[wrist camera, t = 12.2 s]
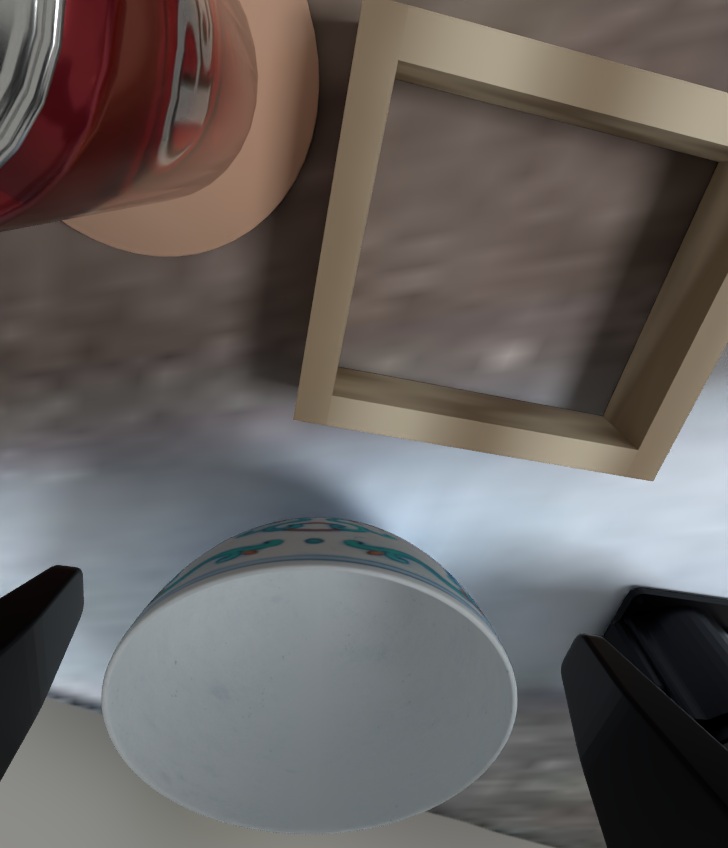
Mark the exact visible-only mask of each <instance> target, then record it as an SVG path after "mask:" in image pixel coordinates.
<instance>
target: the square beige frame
mask: <svg viewBox="0 0 728 848" xmlns="http://www.w3.org/2000/svg"><path fill="white" fill-rule="evenodd" d="M394 79H398V80H401V81H405V82H409V83H413V84H417V85H421V86H425V87H429V88H433V89H437V90H440V91H444V92H448V93H452V94H456V95H460V96H464V97H468V98H472V99H475V100H479V101H483V102H487V103H491V104H495V105H499V106H503V107H507V108H511V109H514V110H518V111H522V112H526V113H530V114H534V115H538V116H542V117H546V118H549V119H553V120H557V121H561V122H565V123H569V124H573V125H577V126H581V127H585V128H588V129H592V130H596V131H600V132H604V133H608V134H612V135H616V136H620V137H623V138H627V139H631V140H635V141H639V142H643V143H647V144H651V145H655V146H659V147H662V148H666V149H670V150H674V151H678V152H682V153H686V154H690V155H694V156H697V157H701V158H705V159H709V160H713V161H717V162H719V163H718V165H717V167H716V169H715V171H714V174H713V176H712V178H711V180H710V182H709V185H708V187H707V189H706V191H705V193H704V195H703V198H702V200H701V202H700V204H699V206H698V209H697V211H696V213H695V215H694V217H693V220H692V222H691V224H690V226H689V228H688V231H687V233H686V235H685V237H684V239H683V242H682V244H681V246H680V248H679V250H678V253H677V255H676V257H675V259H674V261H673V264H672V266H671V268H670V270H669V272H668V274H667V277H666V279H665V281H664V283H663V285H662V288H661V290H660V292H659V294H658V296H657V299H656V301H655V303H654V305H653V307H652V310H651V312H650V314H649V316H648V318H647V321H646V323H645V325H644V327H643V329H642V332H641V334H640V336H639V338H638V340H637V343H636V345H635V347H634V349H633V351H632V354H631V356H630V358H629V360H628V362H627V364H626V367H625V369H624V371H623V373H622V375H621V378H620V380H619V382H618V384H617V386H616V389H615V391H614V393H613V395H612V397H611V400H610V402H609V404H608V406H607V408H606V411H605V413H604V415H603V416H600V415H594V414H589V413H583V412H578V411H573V410H567V409H562V408H556V407H551V406H546V405H540V404H535V403H529V402H524V401H519V400H513V399H508V398H503V397H497V396H492V395H486V394H481V393H476V392H470V391H465V390H459V389H454V388H449V387H443V386H438V385H432V384H427V383H422V382H416V381H411V380H405V379H400V378H395V377H389V376H384V375H378V374H373V373H368V372H362V371H357V370H352V369H346V368H341V367H338V363H339V358H340V353H341V348H342V343H343V338H344V333H345V328H346V322H347V317H348V312H349V307H350V302H351V297H352V292H353V287H354V282H355V277H356V272H357V267H358V262H359V257H360V251H361V246H362V241H363V236H364V231H365V226H366V221H367V216H368V211H369V206H370V201H371V196H372V191H373V186H374V181H375V175H376V170H377V165H378V160H379V155H380V150H381V145H382V140H383V135H384V130H385V125H386V120H387V115H388V110H389V104H390V99H391V94H392V89H393V84H394ZM727 342H728V93H726V92H723V91H719V90H715V89H712V88H708V87H704V86H701V85H697V84H693V83H690V82H686V81H683V80H679V79H675V78H672V77H668V76H664V75H661V74H657V73H653V72H650V71H646V70H643V69H639V68H635V67H632V66H628V65H624V64H621V63H617V62H614V61H610V60H606V59H603V58H599V57H595V56H592V55H588V54H584V53H581V52H577V51H574V50H570V49H566V48H563V47H559V46H555V45H552V44H548V43H544V42H541V41H537V40H534V39H530V38H526V37H523V36H519V35H515V34H512V33H508V32H505V31H501V30H497V29H494V28H490V27H486V26H483V25H479V24H475V23H472V22H468V21H465V20H461V19H457V18H454V17H450V16H446V15H443V14H439V13H435V12H432V11H428V10H425V9H421V8H417V7H414V6H410V5H406V4H403V3H399V2H396V1H392V0H363V1H362V7H361V13H360V19H359V25H358V31H357V37H356V43H355V49H354V55H353V61H352V67H351V73H350V79H349V85H348V91H347V97H346V103H345V110H344V116H343V122H342V128H341V134H340V140H339V146H338V152H337V158H336V164H335V170H334V176H333V182H332V188H331V194H330V200H329V206H328V212H327V219H326V225H325V231H324V237H323V243H322V249H321V255H320V261H319V267H318V273H317V279H316V285H315V291H314V297H313V303H312V309H311V315H310V322H309V328H308V334H307V340H306V346H305V352H304V358H303V364H302V370H301V376H300V382H299V388H298V394H297V400H296V406H295V412H294V418H293V420H298V421H303V422H309V423H315V424H321V425H327V426H333V427H338V428H344V429H350V430H356V431H362V432H368V433H373V434H379V435H385V436H391V437H397V438H403V439H408V440H414V441H420V442H426V443H432V444H438V445H444V446H449V447H455V448H461V449H467V450H473V451H479V452H484V453H490V454H496V455H502V456H508V457H514V458H519V459H525V460H531V461H537V462H543V463H549V464H554V465H560V466H566V467H572V468H578V469H584V470H590V471H595V472H601V473H607V474H613V475H619V476H625V477H630V478H636V479H642V480H648V481H653V480H654V479H655V477H656V475H657V473H658V471H659V469H660V467H661V466H662V464H663V462H664V460H665V458H666V456H667V454H668V452H669V451H670V449H671V447H672V445H673V443H674V441H675V439H676V438H677V436H678V434H679V432H680V430H681V428H682V426H683V424H684V423H685V421H686V419H687V417H688V415H689V413H690V411H691V409H692V408H693V406H694V404H695V402H696V400H697V398H698V396H699V395H700V393H701V391H702V389H703V387H704V385H705V383H706V381H707V380H708V378H709V376H710V374H711V372H712V370H713V368H714V367H715V365H716V363H717V361H718V359H719V357H720V355H721V353H722V352H723V350H724V348H725V346H726V344H727Z"/></svg>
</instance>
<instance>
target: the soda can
mask: <svg viewBox="0 0 728 848" xmlns="http://www.w3.org/2000/svg"><path fill="white" fill-rule="evenodd" d="M257 85H258V71H257V62H256V53H255V46H254V42H253V38H252V35H251V31H250V27H249V24H248V20H247V17H246V14H245V12H244V10H243V8H242V6H241V3H240V1H239V0H0V232H3V231H8V230H13V229H19V228H24V227H30V226H35V225H40V224H46V223H51V222H56V221H62V220H67V219H72V218H78V217H83V216H89V215H94V214H99V213H105V212H110V211H115V210H121V209H126V208H131V207H137V206H142V205H148V204H153V203H158V202H164V201H169V200H173V199H177V198H181V197H184V196H188V195H191V194H193V193H195V192H197V191H199V190H201V189H203V188H204V187H206V186H208V185H210V184H211V183H212V182H214V181H215V180H216V179H217V178H218V177H219V176H220V175H222V174H223V173H224V172H225V171H226V170H227V169H228V167H229V166H230V165H231V163H232V162H233V161H234V159H235V158H236V157H237V155H238V154H239V152H240V151H241V149H242V147H243V144H244V142H245V140H246V138H247V136H248V133H249V131H250V129H251V125H252V120H253V116H254V112H255V108H256V102H257Z"/></svg>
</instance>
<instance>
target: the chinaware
mask: <svg viewBox="0 0 728 848" xmlns="http://www.w3.org/2000/svg"><path fill="white" fill-rule="evenodd" d="M516 711H517V686H516V680H515V676H514V672H513V669H512V666H511V663H510V661H509V658H508V656H507V654H506V652H505V650H504V648H503V646H502V644H501V642H500V640H499V639H498V637H497V635H496V633H495V632H494V630H493V628H492V627H491V625H490V624H489V622H488V620H487V619H486V617H485V616H484V614H483V613H482V612H481V610H480V609H479V607H478V606H477V605H476V603H475V602H474V601H473V599H472V598H471V597H470V596H469V594H468V593H467V592H466V591H465V589H464V588H463V587H462V586H461V585H460V584H459V583H458V582H457V581H456V580H455V578H454V577H453V576H452V575H451V574H450V573H449V572H447V571H446V570H445V569H444V568H443V567H442V566H441V565H440V564H439V563H438V562H436V561H435V560H434V559H433V558H431V557H430V556H429V555H427V554H426V553H425V552H423V551H422V550H420V549H419V548H417V547H416V546H414V545H413V544H411V543H409V542H407V541H406V540H404V539H402V538H400V537H398V536H396V535H394V534H392V533H389V532H387V531H384V530H382V529H379V528H376V527H373V526H370V525H367V524H363V523H359V522H355V521H350V520H344V519H336V518H317V517H316V518H298V519H290V520H284V521H279V522H274V523H270V524H266V525H263V526H260V527H257V528H254V529H251V530H248V531H246V532H243V533H241V534H238V535H236V536H234V537H232V538H230V539H228V540H226V541H224V542H222V543H221V544H219V545H217V546H216V547H214V548H212V549H211V550H209V551H208V552H206V553H205V554H203V555H202V556H200V557H199V558H197V559H196V560H195V561H193V562H192V563H191V564H190V565H188V566H187V567H186V568H185V569H184V570H182V571H181V572H180V573H179V574H178V575H177V576H176V577H174V578H173V579H172V580H171V581H170V582H169V583H168V584H167V585H166V586H165V587H164V588H163V589H162V590H161V591H160V592H159V593H158V594H157V595H156V597H155V598H154V599H153V600H152V601H151V602H150V603H149V604H148V606H147V607H146V608H145V609H144V610H143V612H142V613H141V614H140V615H139V617H138V618H137V619H136V620H135V622H134V623H133V624H132V626H131V627H130V628H129V630H128V631H127V633H126V634H125V635H124V637H123V638H122V640H121V641H120V643H119V645H118V646H117V648H116V650H115V652H114V653H113V655H112V657H111V660H110V662H109V664H108V667H107V670H106V673H105V677H104V681H103V686H102V713H103V718H104V722H105V726H106V729H107V732H108V734H109V737H110V739H111V741H112V743H113V745H114V747H115V748H116V750H117V752H118V753H119V754H120V756H121V758H122V759H123V760H124V761H125V763H126V764H127V765H128V766H129V767H130V769H131V770H132V771H133V772H134V773H135V774H136V775H137V776H139V777H140V778H141V779H142V780H143V781H144V782H145V783H146V784H148V785H149V786H150V787H152V788H153V789H154V790H156V791H157V792H158V793H160V794H162V795H163V796H165V797H166V798H168V799H170V800H171V801H173V802H175V803H177V804H179V805H181V806H182V807H185V808H187V809H189V810H191V811H193V812H196V813H198V814H200V815H203V816H206V817H208V818H211V819H214V820H217V821H221V822H224V823H228V824H231V825H235V826H239V827H244V828H249V829H254V830H260V831H267V832H275V833H287V834H330V833H342V832H351V831H358V830H363V829H369V828H374V827H378V826H383V825H386V824H390V823H394V822H397V821H401V820H404V819H407V818H409V817H412V816H414V815H417V814H420V813H422V812H425V811H427V810H429V809H431V808H433V807H435V806H437V805H439V804H441V803H443V802H445V801H447V800H448V799H450V798H452V797H453V796H455V795H457V794H458V793H459V792H461V791H462V790H464V789H465V788H466V787H468V786H469V785H470V784H472V783H473V782H474V781H475V780H476V779H478V778H479V777H480V776H481V775H482V774H483V773H484V772H485V771H486V770H487V769H488V768H489V767H490V765H491V764H492V763H493V762H494V761H495V759H496V758H497V757H498V755H499V754H500V752H501V751H502V749H503V747H504V746H505V744H506V742H507V740H508V738H509V736H510V733H511V731H512V728H513V725H514V721H515V717H516Z"/></svg>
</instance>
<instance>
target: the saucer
mask: <svg viewBox="0 0 728 848" xmlns="http://www.w3.org/2000/svg"><path fill="white" fill-rule="evenodd" d="M239 1H240V3H241V6H242V8H243V10H244V12H245V14H246V17H247V20H248V24H249V27H250V31H251V35H252V38H253V42H254V46H255V53H256V62H257V71H258V85H257V102H256V108H255V112H254V116H253V120H252V125H251V129H250V131H249V133H248V136H247V138H246V140H245V142H244V144H243V147H242V149H241V151H240V152H239V154H238V155H237V157H236V158H235V159H234V161H233V162H232V163H231V165H230V166H229V167H228V169H227V170H226V171H225V172H224V173H223V174H222V175H220V176H219V177H218V178H217V179H216V180H215V181H214V182H212V183H211V184H210V185H208V186H206V187H204V188H203V189H201V190H199V191H197V192H195V193H193V194H191V195H188V196H184V197H181V198H177V199H173V200H169V201H164V202H158V203H153V204H148V205H142V206H137V207H131V208H126V209H121V210H115V211H110V212H105V213H99V214H94V215H89V216H83V217H78V218H72V219H67V220H62V221H63V222H64V223H66V224H67V225H69V226H70V227H72V228H73V229H75V230H77V231H79V232H81V233H83V234H85V235H86V236H88V237H90V238H92V239H94V240H96V241H99V242H101V243H104V244H106V245H109V246H111V247H114V248H117V249H121V250H125V251H129V252H132V253H136V254H144V255H151V256H184V255H192V254H198V253H202V252H205V251H209V250H213V249H216V248H219V247H221V246H223V245H225V244H228V243H230V242H232V241H234V240H236V239H238V238H239V237H241V236H242V235H244V234H246V233H247V232H249V231H250V230H252V229H253V228H255V227H256V226H257V225H258V224H260V223H261V222H262V221H263V220H264V219H265V218H266V217H268V216H269V215H270V214H271V213H272V212H273V210H274V209H275V208H276V207H277V206H278V205H279V204H280V202H281V201H282V200H283V199H284V197H285V196H286V194H287V193H288V191H289V190H290V188H291V187H292V185H293V184H294V182H295V181H296V178H297V176H298V174H299V172H300V170H301V168H302V166H303V164H304V162H305V159H306V156H307V153H308V150H309V147H310V144H311V141H312V138H313V133H314V128H315V124H316V119H317V113H318V101H319V90H320V87H319V59H318V52H317V44H316V37H315V31H314V27H313V23H312V19H311V15H310V11H309V7H308V2H307V0H239Z"/></svg>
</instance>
